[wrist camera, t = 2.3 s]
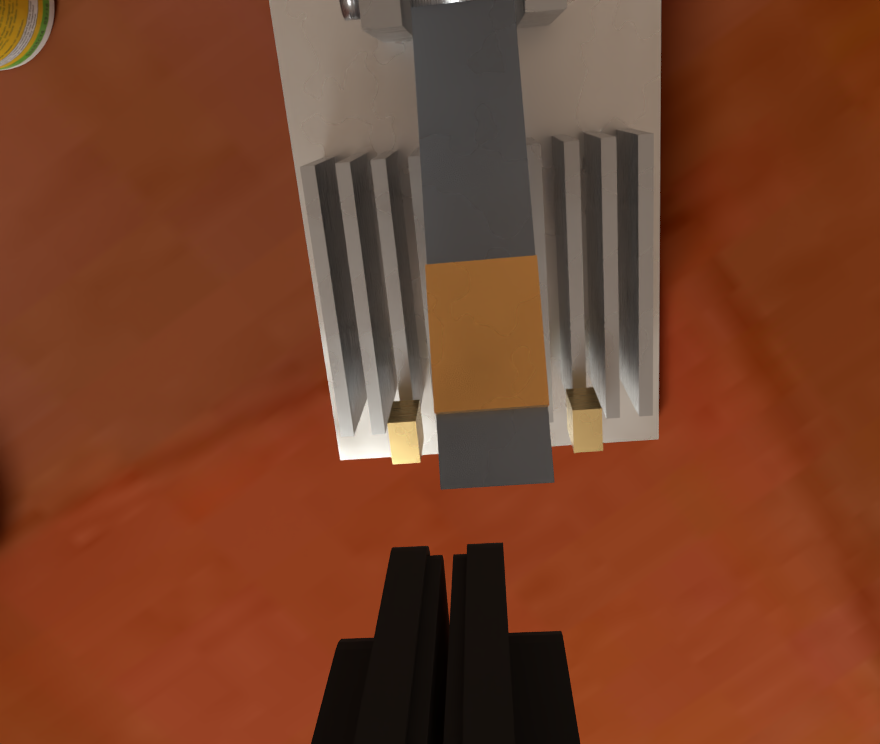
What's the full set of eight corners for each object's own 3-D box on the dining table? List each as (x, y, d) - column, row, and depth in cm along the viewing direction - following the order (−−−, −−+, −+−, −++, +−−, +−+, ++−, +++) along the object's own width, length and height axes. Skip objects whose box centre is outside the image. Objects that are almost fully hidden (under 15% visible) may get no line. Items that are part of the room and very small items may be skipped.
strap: (413, -27, 24) (403, -82, 22) (507, -38, 24) (508, -94, 21) (445, 488, 22) (438, 490, 19) (550, 481, 21) (555, 482, 19)
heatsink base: (270, -38, 28) (204, -81, 21) (654, -82, 27) (715, -142, 20) (344, 448, 35) (313, 535, 28) (652, 427, 34) (697, 512, 27)
